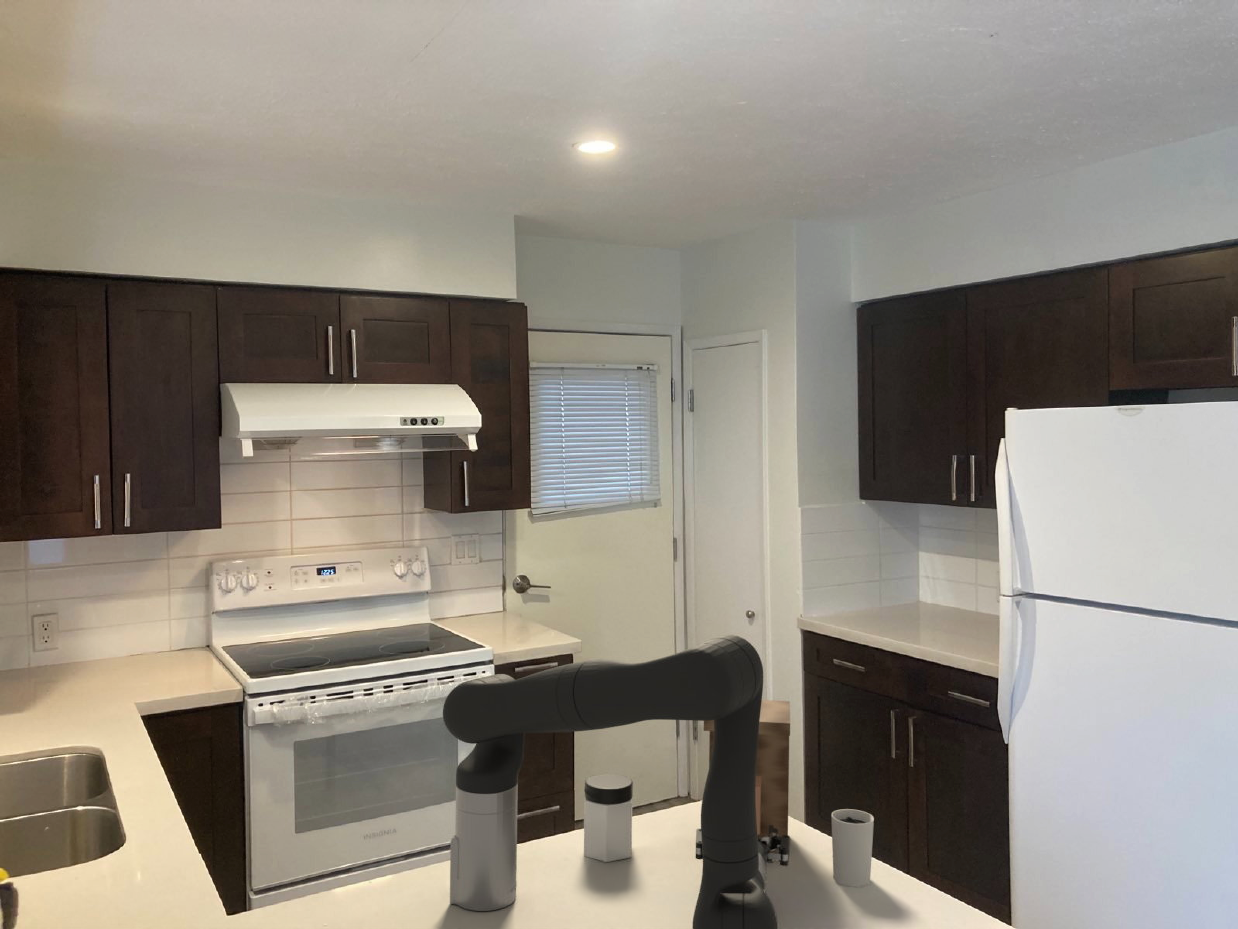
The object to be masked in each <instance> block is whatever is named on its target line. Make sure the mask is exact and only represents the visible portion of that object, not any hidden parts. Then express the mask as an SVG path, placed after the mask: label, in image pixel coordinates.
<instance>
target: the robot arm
mask: <svg viewBox="0 0 1238 929" xmlns="http://www.w3.org/2000/svg"><path fill="white" fill-rule="evenodd" d="M763 689H764V666H763V662H762V659H761V657H760V654H759V653H758V651H757V650H756V648H755V647H754V646H753V645H752V643H751V642H749V641H748V640H746V639H745V638H743V637H741V636H738V635H734V634H726V635H721V636H718V637H715V638H712V639H710V640H707V641H703V642H701V643H698V644H696V645H693V646H691V647H689V648H687V649H685V650H684V649H683V650H682V651H679V652H676V653H674V654H670V655H667V656H664V657H660V658H656V659H652V660H647V661H644V662H643V661H642V662H628V661H621V660H618V659H610V658H604V659H603V658H601V659H592V660H584V661H578V662H573V663H567V664H563V665H560V666H556V667H553V668H548V669H545V670H542V671H538V672H535V673H533V674H529V675H527V676H524V677H521V678H520V677H519V678H518V679H515V678H514V677H512V676H510V675H509V674H505V673H497V674H491V675H487V676H482V677H478V678H474V679H470V680H466V681H464V682H461V683H460V684H458V685H456V686H454V688H453V689H452V690H451V691H450V692H449V693H448V694H447V697H446V698H445V701H444V703H443V705H442V706H443V707H442V718H443V722H444V725H445V726H446V730H448V732H449V733H450V734H451V735H452V736H453V737H454V738H455V739H457V740H459V741H461V742H464V743H467V744H472V745H474V744H475V745H474V747H473V749H472V750H471V752H470V753H469V754H468V755H467V756H466V757H465V758H464V759H463V760H462V761H461V762H460V763H459V764H458V766H457V767H456V771H455V825H454V827H455V832H454V834H455V835H453V836H452V837H451V840H450V858H449V859H450V862H449V864H450V867H449V868H450V869H449V873H450V874H449V904H450V905H451V904H452V905H457V906H459V907H460V908H463V909H465V910H470V911H477V912H488V911H496V910H500V909H503V908H506V907H508V906H510V905H511V904H512V903H514V902H515V900H516V898H517V886H518V885H517V882H518V881H517V870H518V869H517V860H518V858H517V857H518V855H517V854H518V853H517V852H518V851H517V850H518V791H519V790H518V788H519V787H518V782H519V772H520V770H521V768H522V765H523V761H524V750H525V737H526V736H525V734H527V733H528V734H529V733H530V734H531V733H533V734H534V733H535V734H536V733H537V734H540V733H541V734H543V733H544V734H545V733H546V734H547V733H570V732H571V733H572V732H584V731H585V732H586V731H596V730H604V729H605V730H606V729H609V728H615V727H620V726H627V725H632V724H635V723H636V724H637V723H640V722H645V721H652V720H653V721H654V720H667V721H670V720H671V721H696V722H697V721H698V722H699V721H700V722H704V721H708V720H714V742H713V750H712V757H711V762H710V767H709V766H708V771H707V772H708V773H707V775H706V781H705V783H704V784H705V785H704V789H703V794H702V799H701V800H702V801H701V807H700V828H697V829H696V831H695V860H702V872H701V880H700V881H701V882H700V887H699V892H698V896H697V900H696V903H695V907H694V912H693V918H692V929H778V921H777V919H778V918H777V914H776V910H775V908H774V905H773V903H772V901H771V898H769V896H768V894H767V893H766V891H765V888H766V884H767V880H768V877H767V866H768V863H769V861H770V859H773V861H774V860H775V861H777V862H778V863H779V865H780V866H781V867H787V866H788V865H789V860H790V846H791V845H790V844H791V843H790V840H791V837H790V835H789V834H788V835H782V837H779V836H778V829H777V828H773V825H769V834H767V835H766V834H763V833H761V834H759V835H757V821H756V762H757V747H758V734H759V721H760V711H761V702H762V700H763V692H764V690H763Z"/></svg>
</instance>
